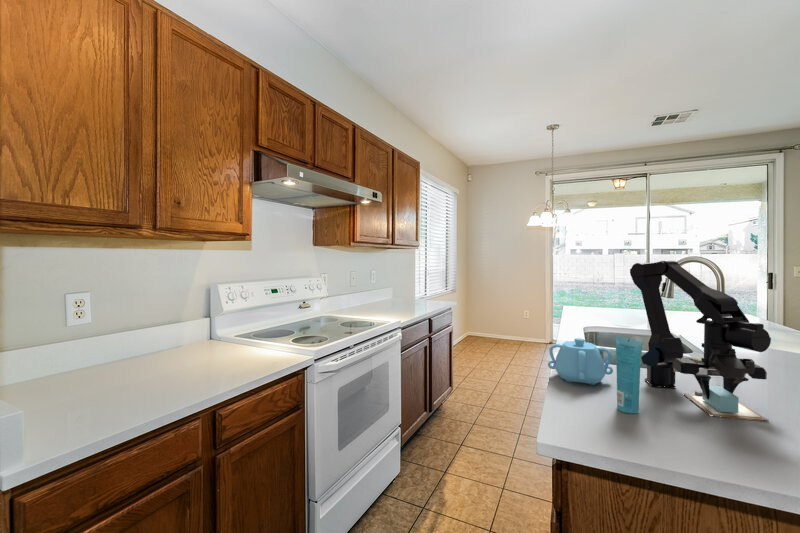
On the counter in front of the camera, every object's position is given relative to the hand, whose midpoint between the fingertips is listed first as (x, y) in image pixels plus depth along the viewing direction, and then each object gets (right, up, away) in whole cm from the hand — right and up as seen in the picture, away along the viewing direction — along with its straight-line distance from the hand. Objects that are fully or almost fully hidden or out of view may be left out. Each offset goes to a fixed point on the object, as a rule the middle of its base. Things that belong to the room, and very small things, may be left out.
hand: (716, 399), depth 98 cm
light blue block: (0, -1, 0) cm, 1 cm away
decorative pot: (-26, -2, +23) cm, 35 cm away
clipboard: (+2, -2, 0) cm, 3 cm away
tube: (-25, -3, -1) cm, 25 cm away
